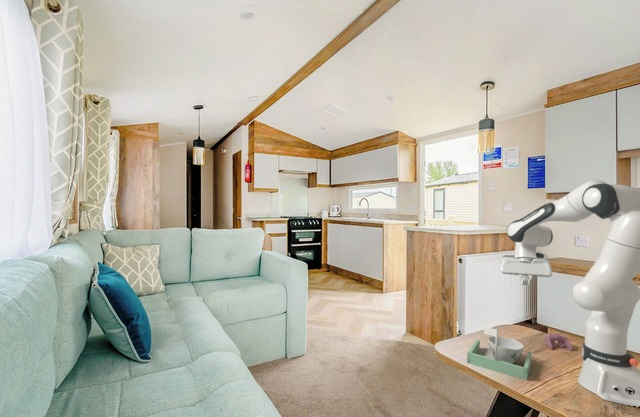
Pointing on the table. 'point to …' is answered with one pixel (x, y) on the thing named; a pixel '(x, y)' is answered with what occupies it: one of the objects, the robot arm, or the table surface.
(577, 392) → the table surface
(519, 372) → the corral
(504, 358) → the teacup
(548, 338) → the video game controller
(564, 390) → the table surface
